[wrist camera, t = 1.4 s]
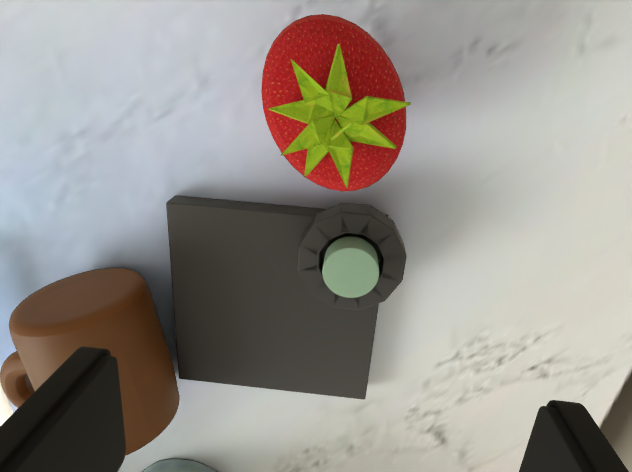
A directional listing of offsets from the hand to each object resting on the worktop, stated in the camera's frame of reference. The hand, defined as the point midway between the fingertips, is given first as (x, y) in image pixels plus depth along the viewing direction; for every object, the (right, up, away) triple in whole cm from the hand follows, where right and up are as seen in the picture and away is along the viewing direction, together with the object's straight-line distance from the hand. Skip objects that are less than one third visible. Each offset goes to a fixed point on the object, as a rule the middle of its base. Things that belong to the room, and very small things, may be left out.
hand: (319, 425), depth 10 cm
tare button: (+2, +3, +15) cm, 15 cm away
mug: (-16, +1, +17) cm, 23 cm away
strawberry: (+1, +12, +14) cm, 19 cm away
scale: (-3, 0, +19) cm, 20 cm away
